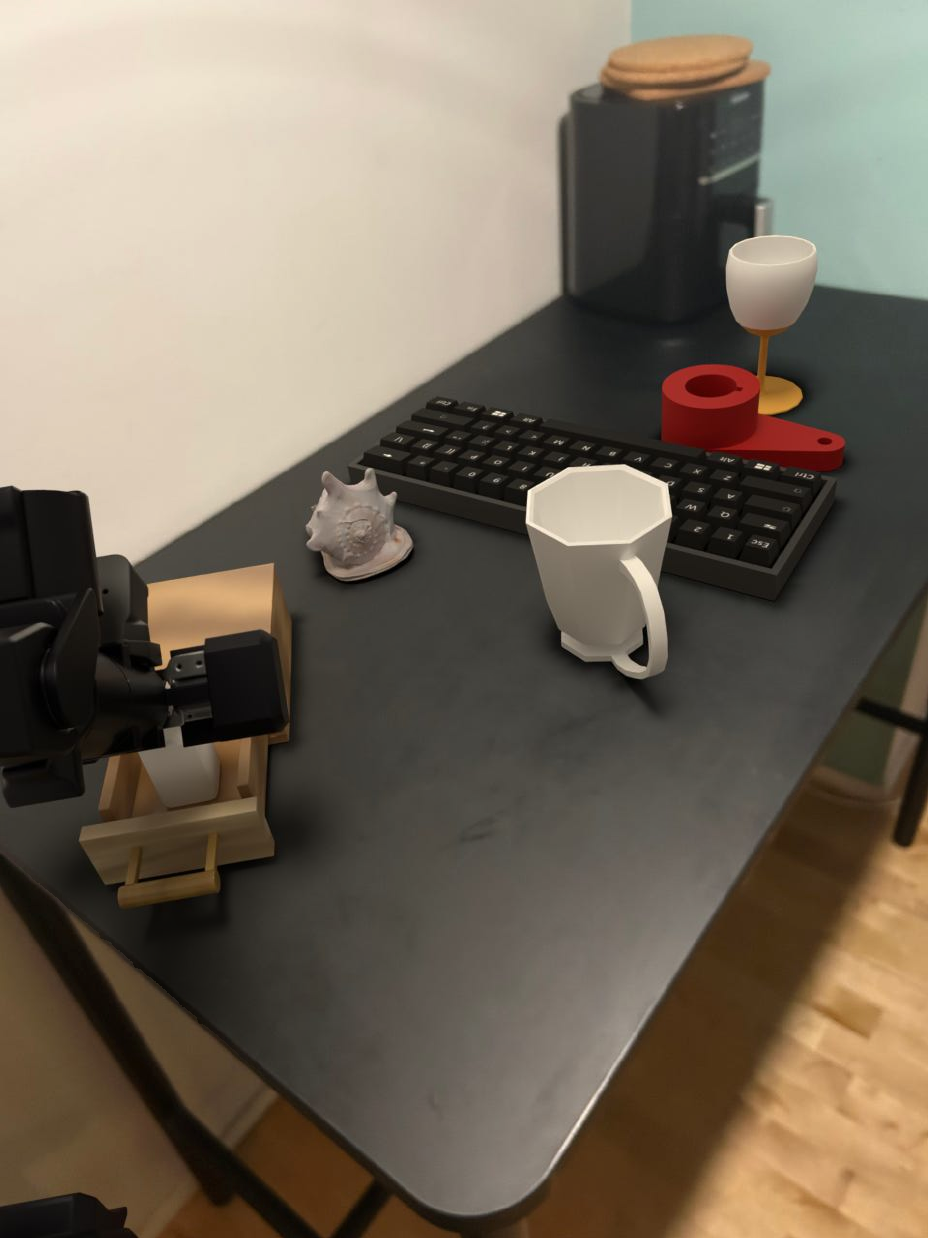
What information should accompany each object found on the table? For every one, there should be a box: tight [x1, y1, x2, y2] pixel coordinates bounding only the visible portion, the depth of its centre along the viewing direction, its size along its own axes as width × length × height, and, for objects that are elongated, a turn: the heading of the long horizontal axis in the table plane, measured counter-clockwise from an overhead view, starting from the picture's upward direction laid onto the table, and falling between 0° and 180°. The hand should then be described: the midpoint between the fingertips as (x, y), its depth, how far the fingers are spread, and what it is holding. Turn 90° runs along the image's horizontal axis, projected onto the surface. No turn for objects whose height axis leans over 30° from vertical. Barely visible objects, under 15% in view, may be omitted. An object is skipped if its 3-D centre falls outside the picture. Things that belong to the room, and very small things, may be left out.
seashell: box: [305, 468, 414, 582], centre depth 90 cm, size 10×12×9 cm
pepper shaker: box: [138, 680, 220, 808], centre depth 66 cm, size 4×4×10 cm
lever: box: [660, 363, 846, 472], centre depth 96 cm, size 18×9×7 cm, turn 62°
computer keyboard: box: [346, 395, 838, 602], centre depth 94 cm, size 45×16×4 cm, turn 57°
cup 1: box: [526, 464, 672, 680], centre depth 73 cm, size 11×16×13 cm
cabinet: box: [146, 562, 293, 746], centre depth 77 cm, size 15×13×7 cm
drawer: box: [78, 735, 275, 910], centre depth 66 cm, size 18×11×5 cm, turn 7°
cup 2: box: [725, 234, 818, 416], centre depth 101 cm, size 9×9×16 cm
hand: (167, 707), depth 65 cm, fingers closed on pepper shaker, 4 cm apart
